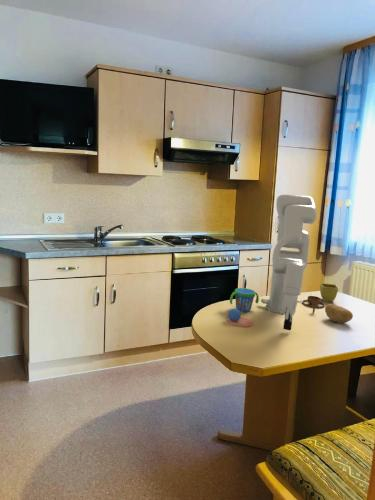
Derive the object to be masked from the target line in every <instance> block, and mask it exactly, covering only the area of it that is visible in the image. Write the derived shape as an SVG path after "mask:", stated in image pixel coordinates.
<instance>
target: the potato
mask: <svg viewBox="0 0 375 500" xmlns="http://www.w3.org/2000/svg"><path fill="white" fill-rule="evenodd" d="M324 311H325V313H326V317H327V318H328V319H330V321H332V322H334V323H340V324H341V323H342V324H346V323H348V322H351V321H352V319H353V317H354V316H353V312H351V311H350V310H349V309H347V308H345V307H343V306H340V305H337V304H334V303H329V304H327V305H325V306H324Z"/></svg>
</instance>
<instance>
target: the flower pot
mask: <svg viewBox="0 0 375 500" xmlns="http://www.w3.org/2000/svg"><path fill="white" fill-rule="evenodd" d="M319 287H320V289H319V291H320V293H319V294H320V297H321V299H322V301H323V302H330V303H332V302H334V300H336V298H337V294H338V292H339V291H338V290H339V287H338V285H336V284H334V283H322V282H320V285H319Z"/></svg>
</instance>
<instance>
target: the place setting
mask: <svg viewBox="0 0 375 500" xmlns="http://www.w3.org/2000/svg"><path fill="white" fill-rule="evenodd" d="M321 299H322V297H321V298H320V297H319V296H316V295H315V296H314V295H308V296H307V299H304V300H297V303H302V305H304V306H305V307H308V308H312V313H313V314H315V309H322V308H325V307H326V305H325V303H323V302H322V301H321ZM307 303H308V304H307ZM320 305H321V306H320Z"/></svg>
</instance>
